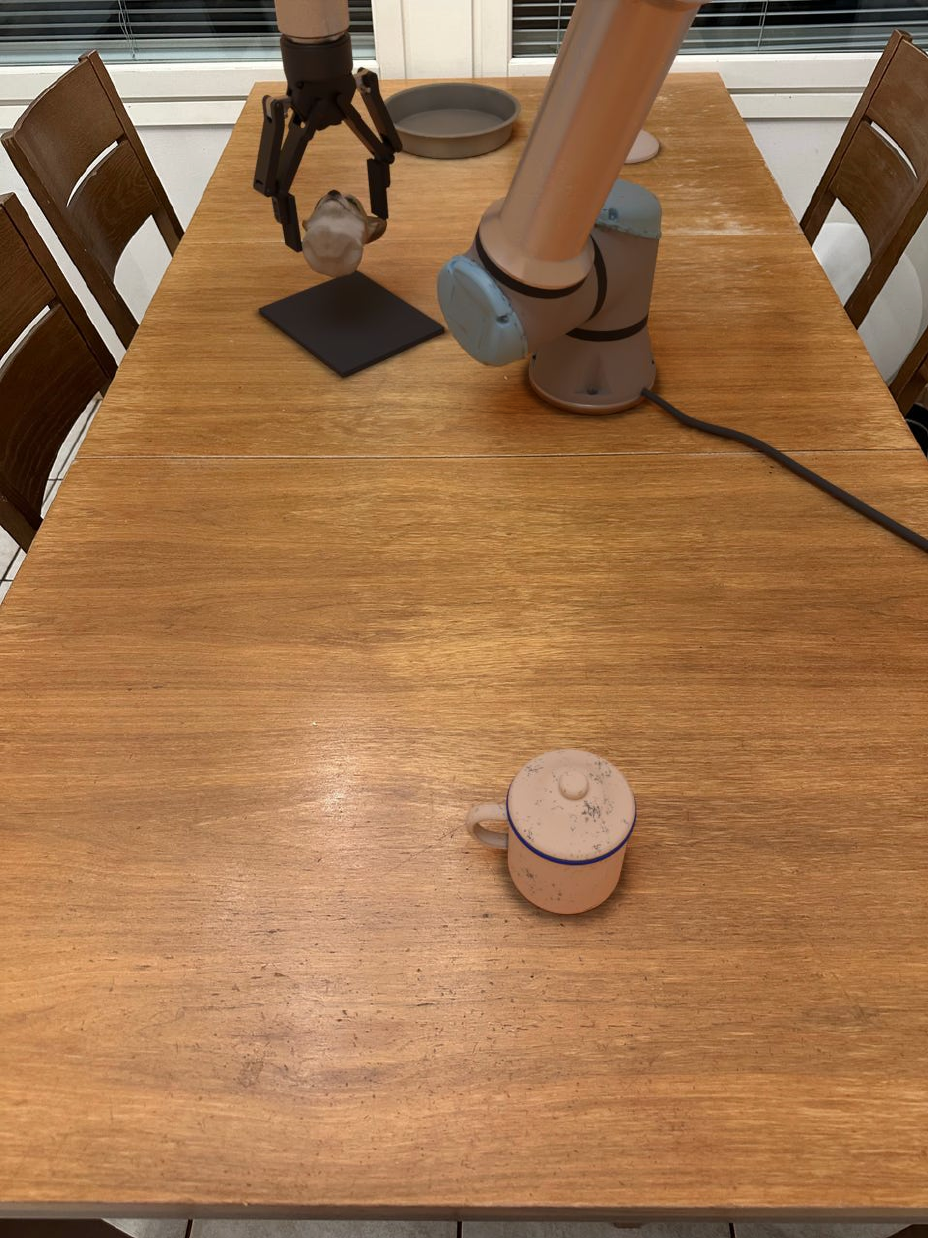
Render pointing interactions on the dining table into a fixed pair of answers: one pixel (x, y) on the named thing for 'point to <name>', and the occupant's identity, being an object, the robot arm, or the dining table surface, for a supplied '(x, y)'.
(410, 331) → the desk pad
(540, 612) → the dining table surface
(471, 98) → the cake pan
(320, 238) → the ceramic sculpture
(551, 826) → the teacup with lid
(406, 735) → the dining table surface
